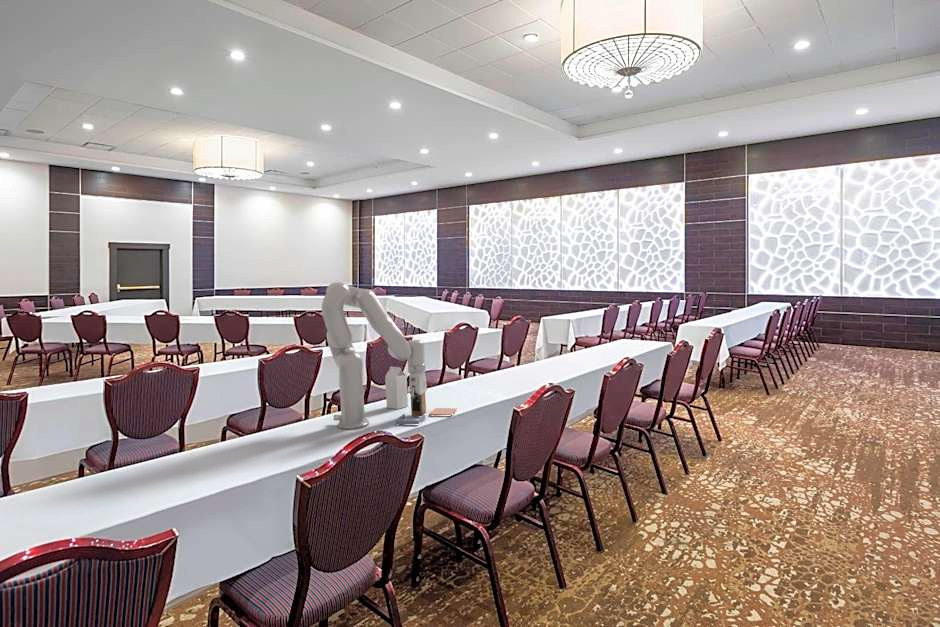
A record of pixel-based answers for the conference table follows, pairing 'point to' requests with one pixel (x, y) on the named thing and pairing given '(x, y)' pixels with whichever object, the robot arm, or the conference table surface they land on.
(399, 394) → the milk carton
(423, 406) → the walnut block
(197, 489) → the conference table surface
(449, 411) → the terracotta tile
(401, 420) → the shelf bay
